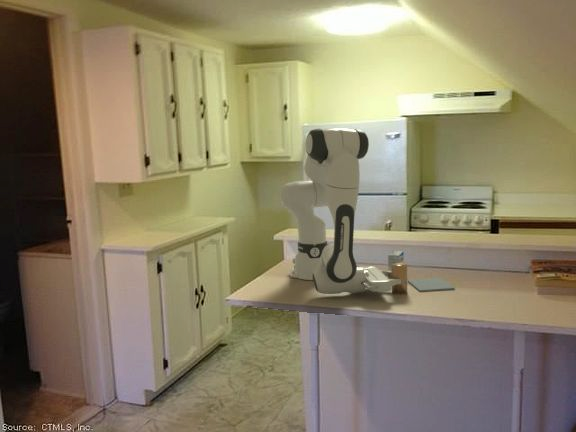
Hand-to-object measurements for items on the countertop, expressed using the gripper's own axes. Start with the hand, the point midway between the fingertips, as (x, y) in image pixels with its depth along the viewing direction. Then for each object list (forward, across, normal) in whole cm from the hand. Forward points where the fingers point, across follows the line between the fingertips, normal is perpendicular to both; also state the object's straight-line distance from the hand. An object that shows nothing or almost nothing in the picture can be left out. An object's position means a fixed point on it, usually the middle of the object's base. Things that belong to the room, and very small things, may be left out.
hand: (396, 277), depth 187 cm
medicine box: (+7, +23, +6) cm, 25 cm away
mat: (+15, +5, +6) cm, 16 cm away
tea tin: (+1, 0, +6) cm, 6 cm away
